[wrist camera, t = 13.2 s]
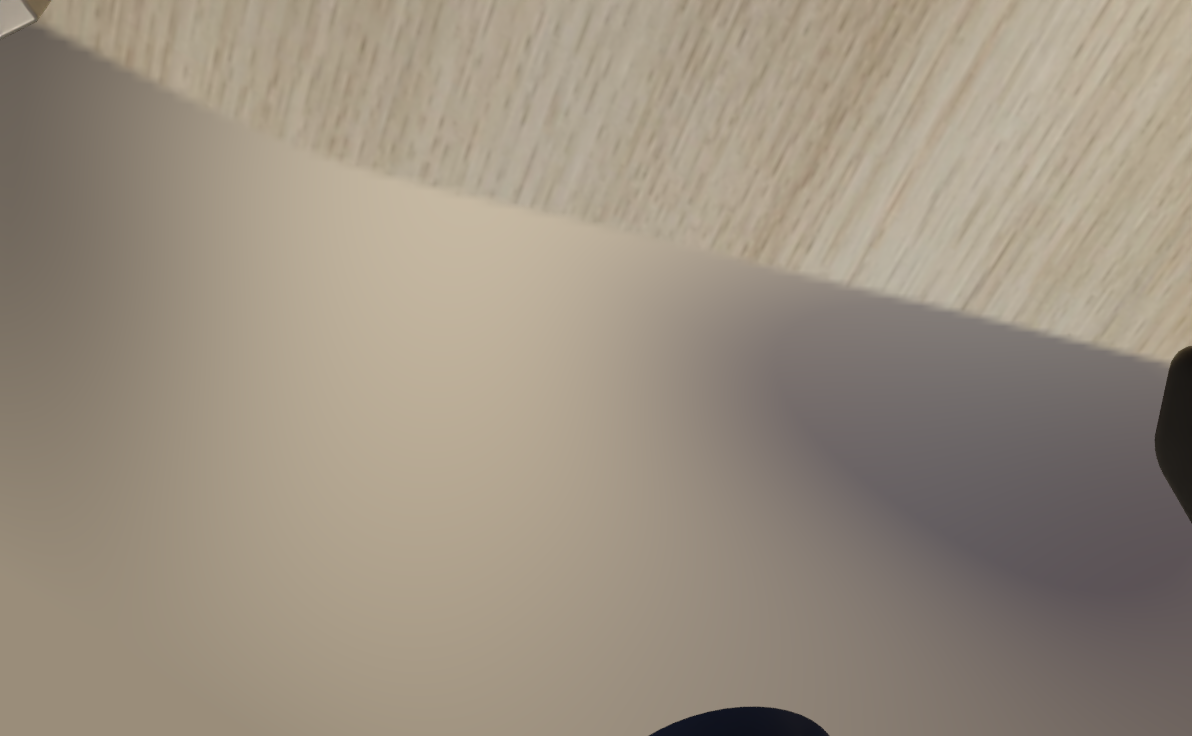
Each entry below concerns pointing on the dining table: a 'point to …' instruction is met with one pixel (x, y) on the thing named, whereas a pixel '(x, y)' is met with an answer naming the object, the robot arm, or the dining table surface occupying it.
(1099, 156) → the dining table surface
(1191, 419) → the robot arm
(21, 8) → the scoop
